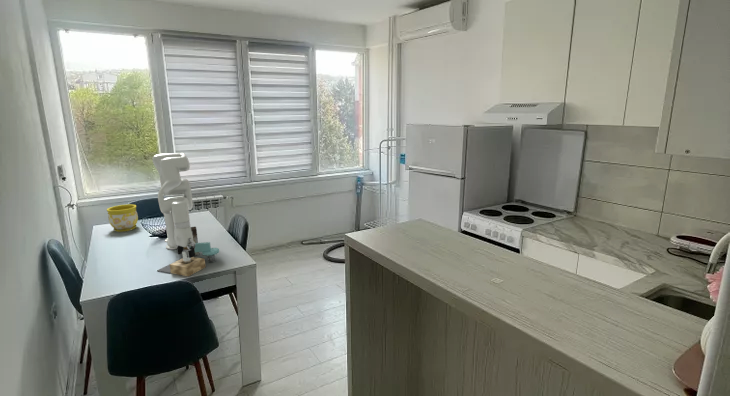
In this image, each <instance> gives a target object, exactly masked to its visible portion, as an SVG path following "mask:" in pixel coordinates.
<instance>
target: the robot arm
mask: <svg viewBox="0 0 730 396" xmlns="http://www.w3.org/2000/svg"><path fill="white" fill-rule="evenodd" d="M152 163H153V166H154V168H155V169H156V171H157V173H158V175H159V180H160V188H159V190H158V193H157V201H158V205H159V210H160V212H161V213H162V214H163V217H164V222H165V229H166V234H167V235H166V236H167V238H166V239H165V240H164V243H166V245H165V248H166V249H167V250H177V254H178V255H182V251H183V250H184V247H187V248H188V249H189V251H188V254H189V258H191V257H196V255H195V250H194V249H195V244H196V243H195V242H194V241H193V235H192V231H191V227H192V226H191V220H190V214H189V211H191V210H192V209H193V207H194V204H193V195H192V187H191V183H190V181H189V180H188V179H186V178H181V174H180V173H181V172H188V171H189V170H190V167H191V165H190V161H189V159H188V156H187V155H186V154H185V153H184V152H172V153H158V154H155V155H153V156H152ZM188 244H189V245H188ZM189 246H191V247H189Z"/></svg>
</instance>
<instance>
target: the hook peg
mask: <svg viewBox="0 0 730 396" xmlns="http://www.w3.org/2000/svg"><path fill="white" fill-rule="evenodd" d="M188 251H189V250H183V251H182V254H181V255H182V258H183V262H184V264H188V263H190V262H191V258H189V254H188Z"/></svg>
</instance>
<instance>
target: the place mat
mask: <svg viewBox="0 0 730 396" xmlns="http://www.w3.org/2000/svg"><path fill="white" fill-rule="evenodd" d="M170 264H171V263H170ZM170 264H168V265H166V266H163V267H162V268H161V267H160V268H159V269H157V272H159V273H165V274H172V273H171V271H170Z"/></svg>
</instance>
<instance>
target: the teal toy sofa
mask: <svg viewBox="0 0 730 396" xmlns="http://www.w3.org/2000/svg"><path fill="white" fill-rule="evenodd" d="M189 247H191V246H189ZM194 250H195V252H199V253H201V255H202V256H205V257H207V262H208V263H214V262H216V261H217V260H216V255H218V254H219V253H220V248H219V247H211V242H210V241H208V242H198V243H196V244H195V249H194Z"/></svg>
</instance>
